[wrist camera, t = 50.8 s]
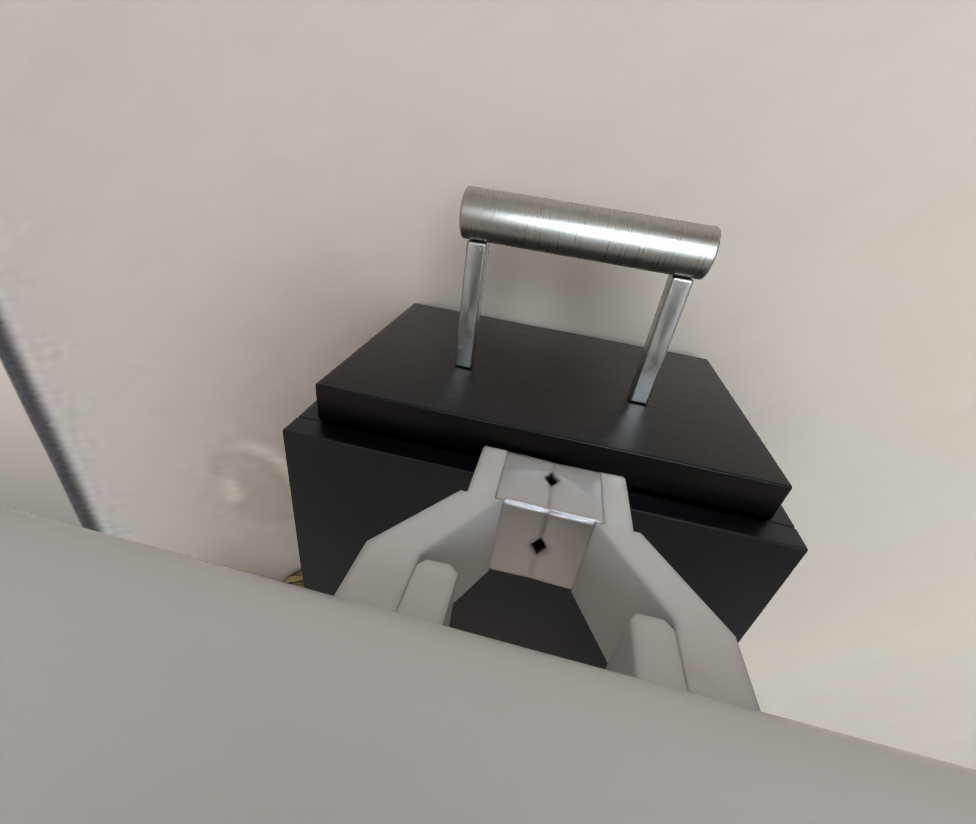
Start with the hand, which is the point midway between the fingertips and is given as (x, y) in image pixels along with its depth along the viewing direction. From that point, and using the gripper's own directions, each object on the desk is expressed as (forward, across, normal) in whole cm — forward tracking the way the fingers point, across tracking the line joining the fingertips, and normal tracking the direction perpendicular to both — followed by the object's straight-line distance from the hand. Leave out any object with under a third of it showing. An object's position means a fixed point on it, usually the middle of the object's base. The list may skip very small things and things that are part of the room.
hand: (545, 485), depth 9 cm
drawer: (+12, 0, -5) cm, 13 cm away
